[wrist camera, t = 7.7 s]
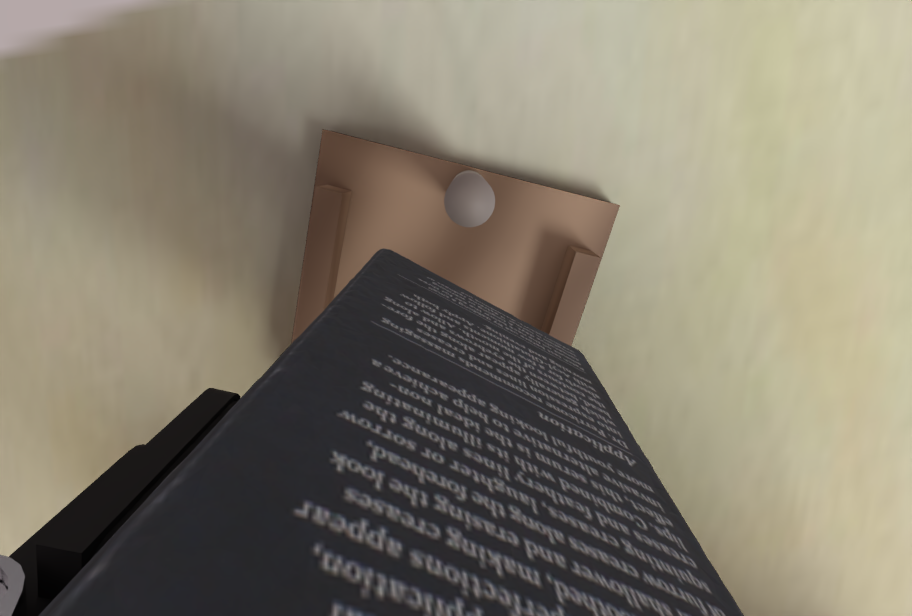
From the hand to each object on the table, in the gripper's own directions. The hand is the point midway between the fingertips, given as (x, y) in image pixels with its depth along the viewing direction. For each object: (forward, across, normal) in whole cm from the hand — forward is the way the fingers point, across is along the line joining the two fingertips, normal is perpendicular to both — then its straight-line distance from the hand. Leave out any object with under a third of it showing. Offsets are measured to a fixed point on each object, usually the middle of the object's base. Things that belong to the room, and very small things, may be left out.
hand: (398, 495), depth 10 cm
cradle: (+12, 0, 0) cm, 12 cm away
